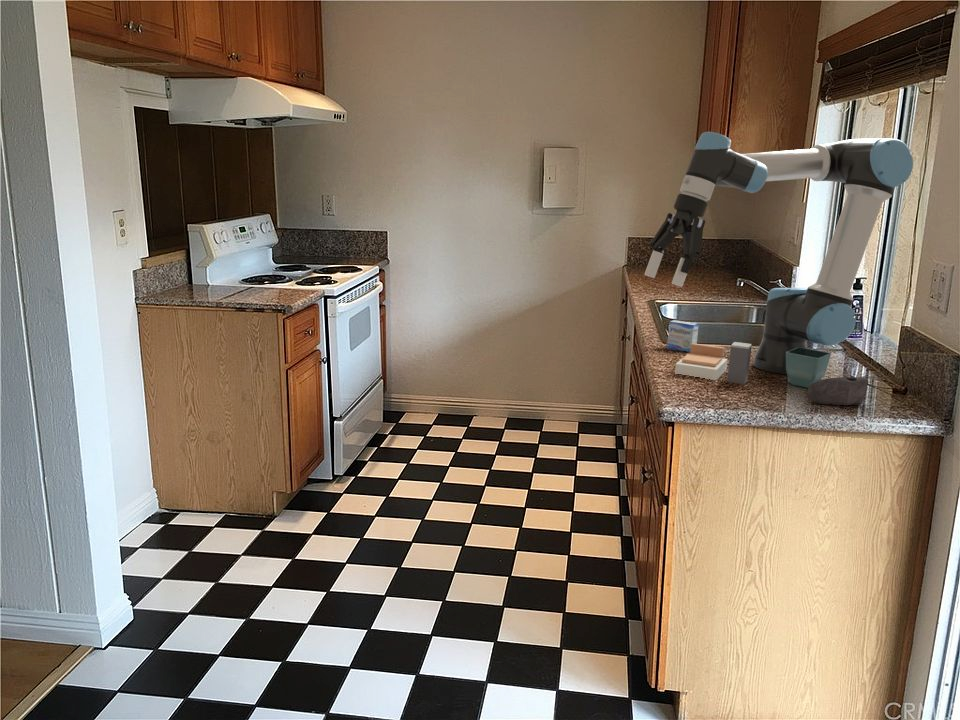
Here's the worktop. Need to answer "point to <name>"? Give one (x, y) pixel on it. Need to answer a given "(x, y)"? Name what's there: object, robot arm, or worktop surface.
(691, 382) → the worktop surface
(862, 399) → the perforated stone tool
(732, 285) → the worktop surface
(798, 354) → the flower pot
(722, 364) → the socket housing
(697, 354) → the shutter
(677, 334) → the medicine box
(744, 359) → the plug
